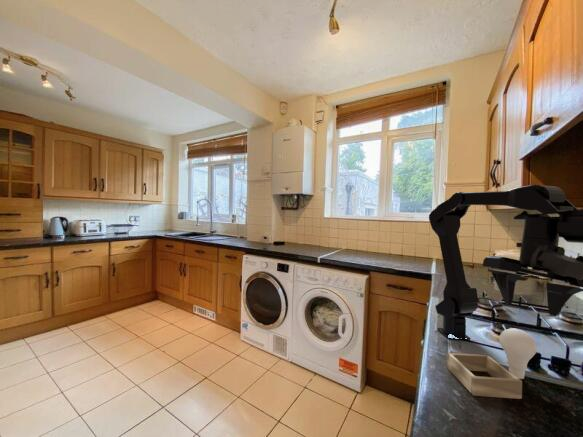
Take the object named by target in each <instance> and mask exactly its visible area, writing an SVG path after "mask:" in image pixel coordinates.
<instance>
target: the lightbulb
mask: <svg viewBox="0 0 583 437" xmlns="http://www.w3.org/2000/svg"><path fill="white" fill-rule="evenodd" d="M499 344H500V346H501V347H502V350H503V351H504V354H505V355H506V359H507V360H506V361H507V364H508V371H509V372H511V373H512V374H513V375H515V376H516V377H517V378H518V379H520V380H524V379H525V376H526V375H525V373H526V370H527V367H528V363H529V361H530V360H531V359H532V358H533V357H534V356H535V355H536V354H537V351H538V350H537V348H538V347H537V344H536V341H535V339H534V338H533V337H532V336H531V334H529V333H527V332H526V331H524V330H523V329H520V328H514V327H513V328H507V329H504V330H503V331H502V332H501V333H500V334H499Z"/></svg>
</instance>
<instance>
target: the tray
mask: <svg viewBox="0 0 583 437" xmlns="http://www.w3.org/2000/svg"><path fill="white" fill-rule="evenodd" d="M446 356H447V357H446V358H447V359H446V368H447V369H448V371H450V372H451V373H452V375H453V376H454V377H455V378H456V379H457V380H458V381H459V382H460V383H461V384H462V385H463V386H464V387H465V388H466V389H467V391H469V393H470V394H472V396H475V397H488V398H489V397H490V398H502V399H504V398H505V399H515V400H516V399H518V400H521V399H522V398H523V381H522V379H518V378H517V377H516V376H515V375H513V374H512V373H511V372H509V369H507V368H506V367H504V366H503V365H501V364H500V363H499V362H497V361H496V360H495V359H493V358H492V357H491V356H489V355H488V354H478V353H477V354H476V353H475V354H474V353H473V354H472V353H457V352H447V354H446ZM471 371H472V372H471ZM473 371H474V372H486V373H487V374H489V376H476V375H475V374H473Z"/></svg>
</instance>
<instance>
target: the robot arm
mask: <svg viewBox="0 0 583 437" xmlns="http://www.w3.org/2000/svg"><path fill="white" fill-rule="evenodd" d="M471 206H504V207H505V206H506V207H511V208H515V209H521V210H523V211H522V212H521V213H519V214H516V215H515V216H513V219H514V220H516V221H518V222H521V223H524V224H523V232H522V239H521V242H516V245H515V247H516V248H520V252H519V257H518V258H519V259H516V258H511V257H505V256H501V255H500V256H498V255H497V256H496V255H487V256H486V257H485V258H484V259H483V262H482V267H483V268H488V269H487V272H489V273H491V275H492V277H493V278H494V280H495V283H496V285H497V287H498V289H499V292H500V294H501V296H502V300H503V302H504V304H505V305H506V306H508V307H512V303H513V300H514V293H515V288H516V283H517V281H518V280H519V279H520V278H521V277H522V275H521V274H517V273H524V274H526V275H532V276H536V277H541V278H542V277H543V278H545V279H548V280H549V281H550V282H545V285H546V298H547V310H548V313H549V315H550V316H552V317H556V316H558V315H559V313H560V311H561V310H562V309H563V307H564V306H565V305H566V303H567V301H569V300H570V298H571V297H573V296H574V295H576V294H578V293H581V292H583V255H578V256H577V257H572V256H568V255H565V253H566V250H565V247H562V246H559V241H560V238H562V239H564V241H566V242H568V243H577V244H579V243H580V244H583V209H578V208H577V207H576V206H575V205H574V204H573V203H571V202H570V201H569V200H568V199H567V198H566V194H565V192H564V190H563V189H561V187H558V186H553V185H541V184H530V185H524V186H520V187H514V188H512V189H508V190H502V191H501V190H498V191H471V192H465V191H457V192H455V193H453V195H452V196H450V197H449V198H448V199H446V200H445V201H443V202H441V203H440V204H438V205H437V206H436V207H435V208H434V209H432V210H431V211H430V214H429V215H428V220H429V223H430V227H431V229H432V231H433V232H434V233H435V234H436V235H437V236H438V240H439V246H440V251H441V257H442V263H443V268H444V269H443V270H444V272H445V278H446V284H445V286H444V289H443V292H442V296H443V298H442V299H443V300H441V301H440V302H439V303H438V304H435V310H436V314H438V315H440V316H442V325H441V326H442V327H437V331H438V332H440V333H441V334H442V335H443V336H444V337H446V338H447V337H448V335H449V334H452V335H454V336H455V337H457V338H462V339H465V338H467V339H472V338H471V337H469V335H467V325H466V322H467V319H466V317H472V316H473V314H474V313H475V312H476V310H477V309H478V308H479V303H481V302H480V299H479V297H478V290H477V287H471V286H470V285H469V283H468V282H467V279H466V275H465V274H466V273H465V269H464V265H463V260H462V254H461V251H460V250H461V249H460V244H459V238H458V233H459V230H460V228H461V219H462V218H463V217H464V216H466V214H467V212H468V210H469V208H470V207H471ZM531 211H537V212H539V213H532V212H531ZM550 215H557V216H550Z"/></svg>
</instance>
